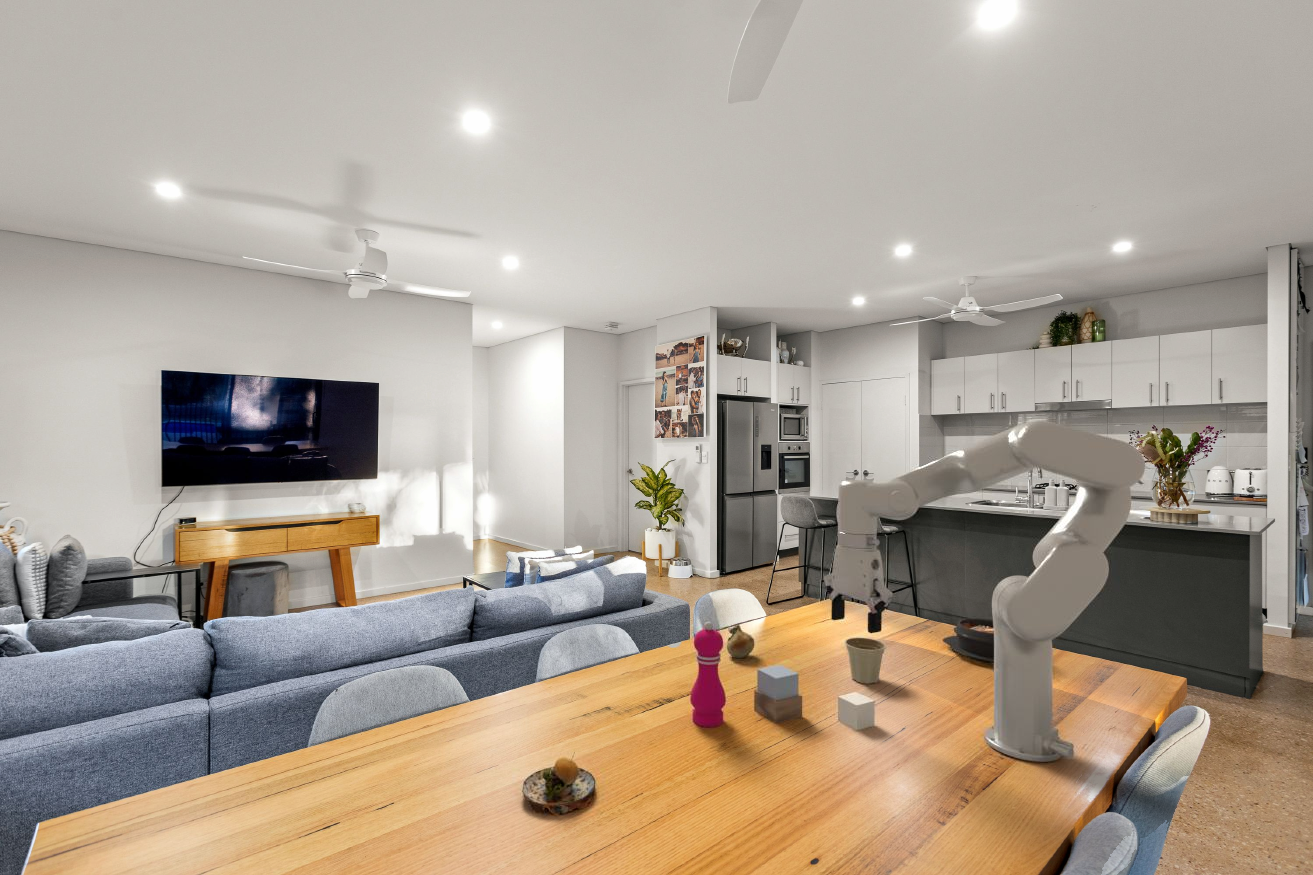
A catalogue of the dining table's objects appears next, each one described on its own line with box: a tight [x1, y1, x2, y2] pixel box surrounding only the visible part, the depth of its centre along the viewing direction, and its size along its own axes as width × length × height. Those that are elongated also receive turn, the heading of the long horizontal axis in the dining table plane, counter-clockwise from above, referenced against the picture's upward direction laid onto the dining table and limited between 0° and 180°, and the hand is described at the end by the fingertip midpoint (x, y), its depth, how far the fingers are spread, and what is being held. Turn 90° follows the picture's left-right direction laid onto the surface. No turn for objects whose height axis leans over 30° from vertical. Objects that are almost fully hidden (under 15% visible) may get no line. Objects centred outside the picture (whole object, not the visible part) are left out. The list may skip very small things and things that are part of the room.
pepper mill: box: [689, 621, 727, 728], centre depth 128 cm, size 7×7×20 cm
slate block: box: [756, 664, 800, 701], centre depth 132 cm, size 6×6×4 cm
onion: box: [726, 624, 755, 659], centre depth 167 cm, size 8×8×8 cm
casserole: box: [942, 618, 994, 665], centre depth 169 cm, size 25×19×8 cm
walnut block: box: [753, 689, 803, 724], centre depth 132 cm, size 7×7×4 cm
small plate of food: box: [521, 752, 597, 816], centre depth 101 cm, size 12×12×8 cm
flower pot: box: [844, 637, 887, 685], centre depth 152 cm, size 9×9×9 cm
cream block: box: [837, 691, 876, 731], centre depth 128 cm, size 5×5×5 cm
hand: (855, 625), depth 128 cm, fingers open, 9 cm apart
